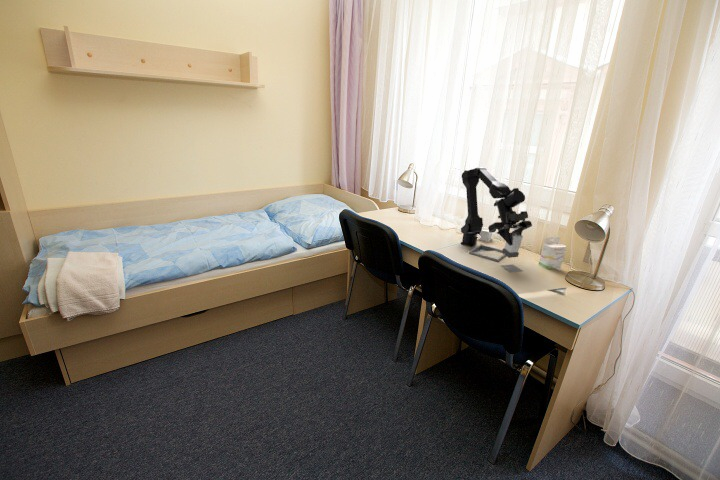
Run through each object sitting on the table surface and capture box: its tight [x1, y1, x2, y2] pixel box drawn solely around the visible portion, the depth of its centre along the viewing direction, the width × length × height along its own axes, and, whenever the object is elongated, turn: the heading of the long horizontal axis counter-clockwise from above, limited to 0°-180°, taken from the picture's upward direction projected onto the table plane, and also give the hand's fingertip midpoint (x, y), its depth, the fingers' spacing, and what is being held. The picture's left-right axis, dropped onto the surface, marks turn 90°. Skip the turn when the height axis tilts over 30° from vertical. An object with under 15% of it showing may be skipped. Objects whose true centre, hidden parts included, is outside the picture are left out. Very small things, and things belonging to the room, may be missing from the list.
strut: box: [501, 231, 524, 259], centre depth 147 cm, size 5×5×10 cm
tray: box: [468, 244, 507, 263], centre depth 164 cm, size 14×14×2 cm
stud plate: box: [500, 264, 524, 273], centre depth 149 cm, size 7×7×2 cm
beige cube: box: [479, 230, 493, 243], centre depth 187 cm, size 6×6×6 cm
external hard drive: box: [548, 287, 567, 295], centre depth 138 cm, size 2×8×12 cm
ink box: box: [538, 236, 568, 271], centre depth 151 cm, size 9×5×15 cm, turn 105°
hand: (515, 244), depth 146 cm, fingers closed on strut, 4 cm apart
